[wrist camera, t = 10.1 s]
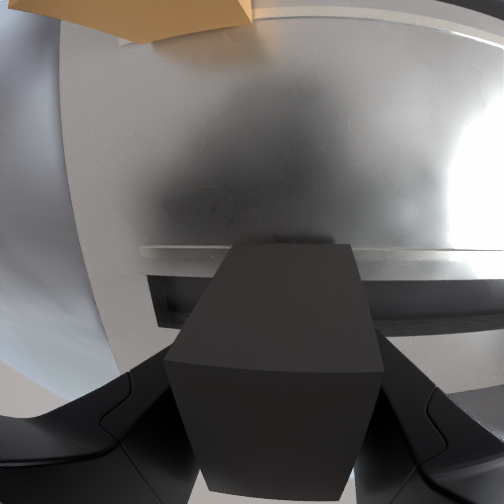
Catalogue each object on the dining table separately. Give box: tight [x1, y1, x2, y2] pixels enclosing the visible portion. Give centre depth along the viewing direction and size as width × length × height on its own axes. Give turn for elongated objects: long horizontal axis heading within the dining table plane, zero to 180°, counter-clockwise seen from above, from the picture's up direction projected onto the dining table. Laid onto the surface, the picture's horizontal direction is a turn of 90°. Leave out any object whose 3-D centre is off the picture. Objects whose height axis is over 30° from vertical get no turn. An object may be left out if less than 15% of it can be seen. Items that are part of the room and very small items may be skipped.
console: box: [59, 0, 504, 394], centre depth 8 cm, size 20×18×2 cm
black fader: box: [163, 243, 385, 501], centre depth 7 cm, size 3×4×6 cm
